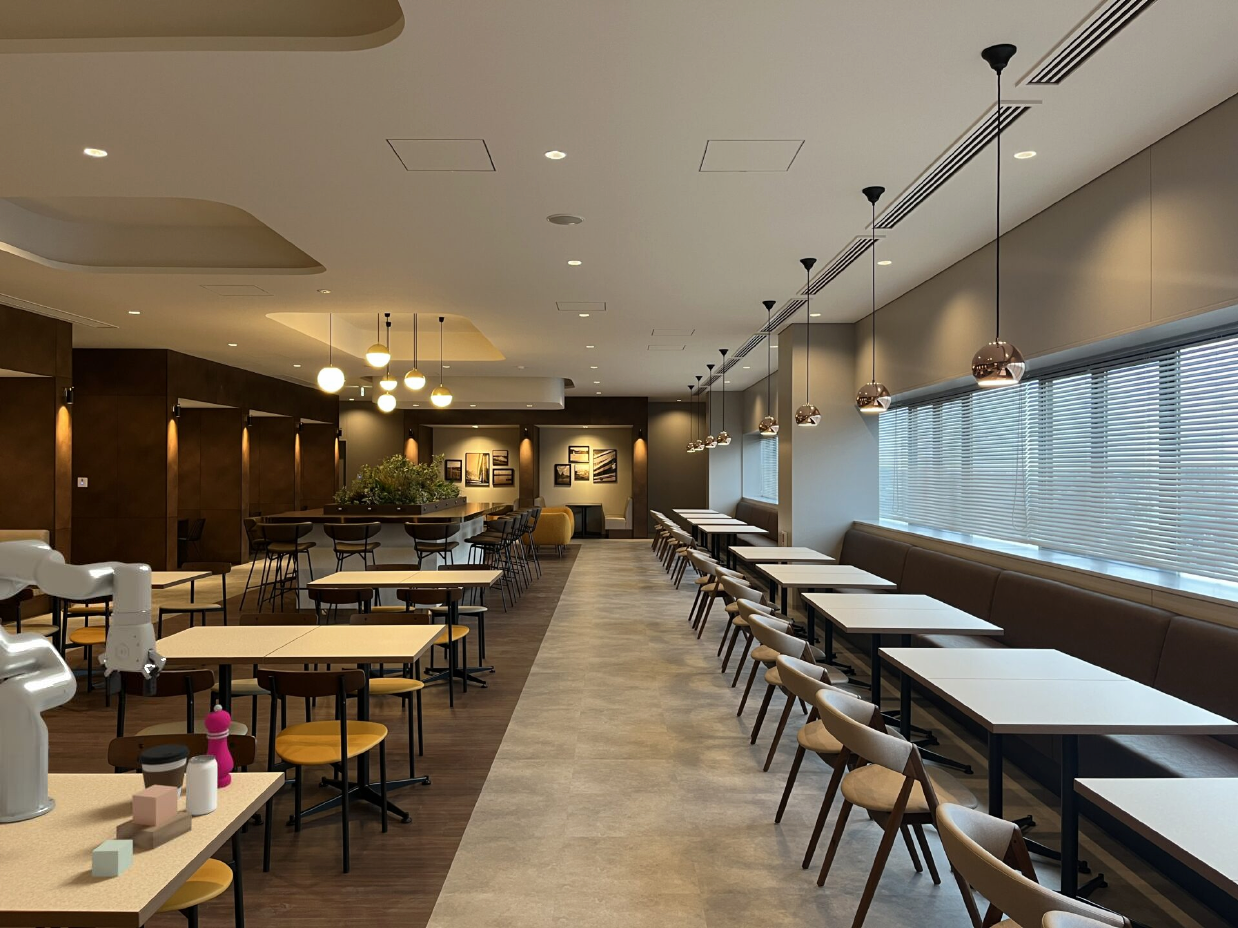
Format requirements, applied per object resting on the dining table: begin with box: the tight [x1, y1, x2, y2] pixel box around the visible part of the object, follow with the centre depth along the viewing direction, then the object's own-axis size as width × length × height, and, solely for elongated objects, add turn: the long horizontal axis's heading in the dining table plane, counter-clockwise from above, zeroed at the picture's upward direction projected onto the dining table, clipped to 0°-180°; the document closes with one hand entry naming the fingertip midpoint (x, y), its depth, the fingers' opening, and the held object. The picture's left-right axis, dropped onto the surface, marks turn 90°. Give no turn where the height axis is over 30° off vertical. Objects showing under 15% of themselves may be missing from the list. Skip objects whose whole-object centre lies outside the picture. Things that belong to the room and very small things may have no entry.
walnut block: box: [115, 810, 193, 851], centre depth 178 cm, size 10×10×4 cm
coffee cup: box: [138, 743, 191, 801], centre depth 197 cm, size 11×11×12 cm
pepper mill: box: [204, 704, 234, 789], centre depth 208 cm, size 7×7×20 cm
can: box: [185, 754, 218, 817], centre depth 191 cm, size 6×6×12 cm
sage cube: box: [91, 839, 134, 878], centre depth 162 cm, size 5×5×5 cm
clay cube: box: [131, 785, 178, 826], centre depth 178 cm, size 6×6×6 cm
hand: (131, 694), depth 187 cm, fingers open, 9 cm apart
